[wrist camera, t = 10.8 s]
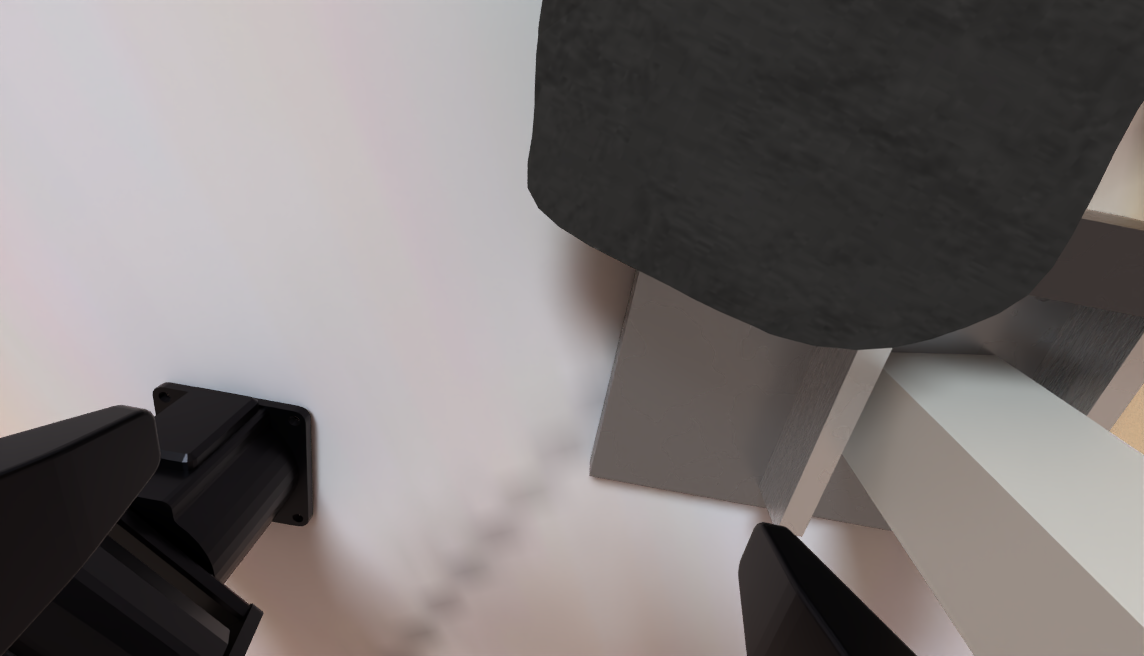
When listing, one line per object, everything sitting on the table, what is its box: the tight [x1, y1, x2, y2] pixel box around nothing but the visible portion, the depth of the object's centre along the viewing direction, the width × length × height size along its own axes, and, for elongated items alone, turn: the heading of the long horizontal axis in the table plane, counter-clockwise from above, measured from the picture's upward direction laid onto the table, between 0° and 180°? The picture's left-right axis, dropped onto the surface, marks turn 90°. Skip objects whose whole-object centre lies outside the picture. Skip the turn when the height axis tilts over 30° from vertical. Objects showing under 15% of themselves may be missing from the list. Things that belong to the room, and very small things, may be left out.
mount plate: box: [590, 209, 1144, 537], centre depth 18 cm, size 14×16×6 cm
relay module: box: [842, 352, 1144, 656], centre depth 15 cm, size 4×5×12 cm
